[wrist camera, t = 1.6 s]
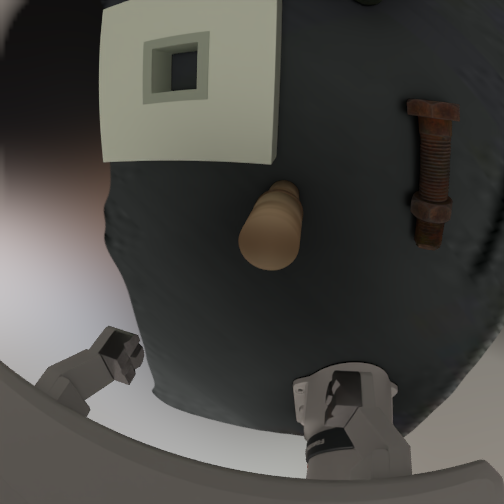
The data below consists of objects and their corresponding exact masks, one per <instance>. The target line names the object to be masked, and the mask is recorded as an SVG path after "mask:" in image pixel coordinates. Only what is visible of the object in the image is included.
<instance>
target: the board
mask: <svg viewBox="0 0 504 504" xmlns="http://www.w3.org/2000/svg"><path fill="white" fill-rule="evenodd" d="M281 30H282V0H129V1H126V2H123V3H120V4H118V5H115V6H112V7H110V8H107V9H104V10H103V18H102V28H101V42H100V62H99V103H100V126H101V140H102V152H103V162H118V161H150V160H189V161H223V162H242V163H257V164H270V165H271V164H272V162H273V161H274V160H275V158H276V156H277V136H278V115H279V91H280V64H281ZM191 51H198V55H197V89H192V90H180V91H171V64H172V54H176V53H183V52H191Z"/></svg>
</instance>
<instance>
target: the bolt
mask: <svg viewBox="0 0 504 504" xmlns="http://www.w3.org/2000/svg"><path fill="white" fill-rule="evenodd" d="M407 113H408V115H414V116H418V123H419V133H420V136H421V137H420V139H421V141H420V143H422V144H420V146H421V147H420V149H421V151H420V153H421V154H420V156H421V157H420V160H421V161H420V163H421V164H420V173H421V174H419V175H420V178H419V179H420V181H419V182H420V184H419V186H420V187H419V189H420V190H419V191H417V192H415V193H414V194H413V196H412V200H411V212H412V213H413V215H414V216H416V217H417V218H416V219H417V221H416V227H415V228H416V229H415V236H414V240H415V242H416V245H417V246H418V247H419V248H423V249H428V250H436V249H438V248H440V245H441V241H442V235H443V229H444V223H445V222H448V221H449V220H450V217H451V210H452V202H453V201H452V199H451V198H450V197H449V196H448V189H449V187H448V186H449V175H450V174H449V172H450V170H449V169H450V167H449V166H450V160H449V159H450V155H451V154H450V152H451V150H450V149H451V147H450V145H451V143H450V142H451V136H452V120H453V121H460V112H459V104H453V103H446V102H438V101H429V100H419V99H408V101H407Z"/></svg>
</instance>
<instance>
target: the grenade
mask: <svg viewBox="0 0 504 504" xmlns="http://www.w3.org/2000/svg"><path fill="white" fill-rule="evenodd" d="M355 1H357V2H359V3H361V4H365V5H375V4H378V3H380V2H381V1H382V0H355Z"/></svg>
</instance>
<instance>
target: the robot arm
mask: <svg viewBox="0 0 504 504" xmlns="http://www.w3.org/2000/svg"><path fill="white" fill-rule="evenodd" d="M139 341H140V339H139V337H138V335H136V334H133V333H130V332H126V331H123V330H120V329H117V328H114V327H111V326H108V327H106V328H105V329H104V331H103V332H102V333H101V334H100V336H99V337H98V338H97V340H96V341H95V342H94V344H93V345H92V346H91V348H90V349H89V350H87V349H86V350H84V351H81V352H79V353H77V354H75V355H73V356H71V357H69V358H67V359H65V360H62V361H60V362H58V363H56V364H54V365H52V366H50V367H48V368H47V370H46V371H45V372H44V374H43V375H42V376H41V378H40V379H39V381H38V382H37V383H36V385H35V386H34V385H32V384H31V383H29V382H28V381H26V380H25V379H24V378H22V377H21V376H20V375H18V374H17V373H15V372H14V371H13V370H11V369H10V368H9V367H8V366H6V365H5V364H4V363H3V362H2V361H0V504H504V483H503V479H502V477H501V476H500V474H499V473H498V472H497V471H496V470H495V469H494V468H493V467H492V466H491V465H490V464H489V463H488V462H487V461H485V460H477V461H474V462H470V463H467V464H463V465H459V466H455V467H451V468H446V469H442V470H437V471H432V472H427V473H421V474H414V475H412V469H411V468H412V467H411V451H410V446H409V445H408V443H407V442H406V440H405V439H404V438H403V437H402V435H401V434H400V433H399V432H398V430H397V429H396V428H395V426H394V425H393V403H392V397H393V396H395V395H396V394H397V392H398V387H397V385H395V384H394V383H392V382H391V381H390V380H389V378H388V375H387V374H386V372H385V371H384V370H383V369H381V368H379V367H377V366H375V365H372V364H367V363H357V362H353V363H342V364H337V365H333V366H329V367H327V368H324V369H322V370H320V371H318V372H316V373H315V374H313V375H311V376H308V377H304V378H300V379H296V380H294V381H293V392H294V401H295V411H296V420H297V422H299V423H301V424H302V425H303V426H304V437H305V439H306V440H307V448H306V462H307V463H308V466H307V468H308V469H307V476H306V479H301V478H290V477H280V476H271V475H264V474H258V473H252V472H246V471H240V470H235V469H230V468H225V467H221V466H217V465H212V464H208V463H204V462H200V461H197V460H193V459H190V458H186V457H182V456H180V455H176V454H173V453H170V452H167V451H164V450H161V449H158V448H156V447H153V446H150V445H147V444H145V443H142V442H140V441H137V440H134V439H132V438H130V437H127V436H125V435H122V434H120V433H118V432H116V431H113V430H111V429H109V428H107V427H105V426H103V425H101V424H99V423H97V422H95V421H93V420H91V419H89V418H87V415H88V413H89V411H90V408H89V406H88V405H87V403H86V402H85V401H84V400H86V399H87V398H89V397H90V396H92V395H93V394H95V393H96V392H98V391H99V390H101V389H102V388H104V387H105V386H107V385H108V384H110V383H111V382H113V381H114V380H116V381H119V382H122V383H125V384H128V385H130V383H131V381H132V379H133V378H134V376H135V369H136V368H138V367H140V366H141V364H142V362H143V358H144V350H143V347H142V346H141V345H140V344H139Z"/></svg>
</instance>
